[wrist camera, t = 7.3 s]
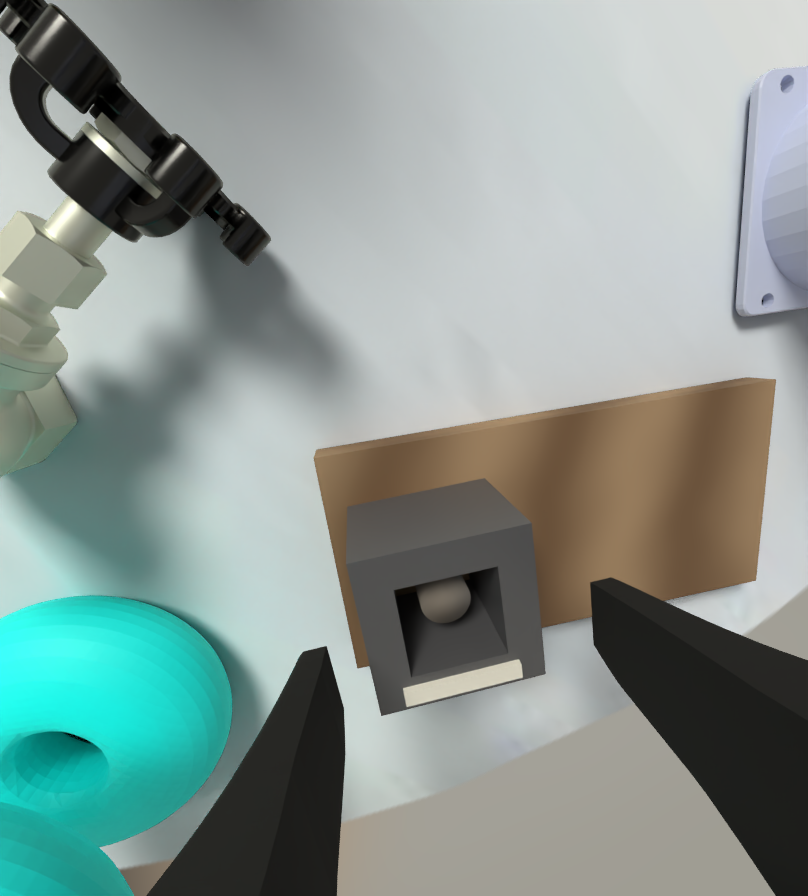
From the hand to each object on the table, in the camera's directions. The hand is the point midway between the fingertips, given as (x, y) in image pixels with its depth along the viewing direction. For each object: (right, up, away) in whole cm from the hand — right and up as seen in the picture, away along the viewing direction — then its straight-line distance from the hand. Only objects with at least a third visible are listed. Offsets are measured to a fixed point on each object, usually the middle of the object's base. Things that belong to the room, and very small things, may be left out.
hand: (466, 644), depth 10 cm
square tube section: (-1, +1, +5) cm, 5 cm away
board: (+4, +2, +6) cm, 8 cm away
